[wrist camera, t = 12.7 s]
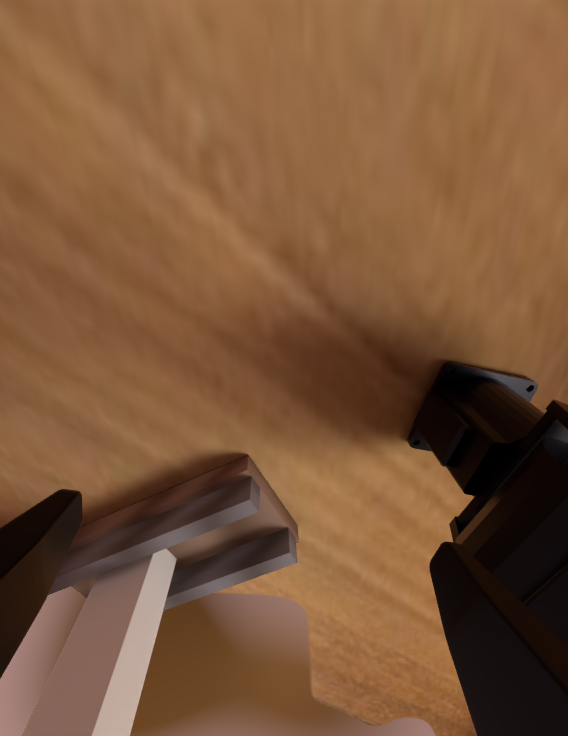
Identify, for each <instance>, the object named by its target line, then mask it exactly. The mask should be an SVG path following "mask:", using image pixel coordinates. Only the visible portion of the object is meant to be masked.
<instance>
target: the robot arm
mask: <svg viewBox="0 0 568 736" xmlns="http://www.w3.org/2000/svg"><path fill="white" fill-rule="evenodd" d="M451 368H453V370H452V371H451V372H448V371H449V369H451ZM529 385H530V386H529ZM528 386H529V387H528ZM527 387H528V388H527ZM526 388H527V389H526ZM537 389H538V384H537V383H536V382H535V381H533V380H531V379H528V378H524V377H519V376H515V375H510V374H506V373H501V372H496V371H492V370H487V369H483V368H478V367H474V366H469V365H465V364H460V363H456V362H447V363H445V364H444V365H443V366H442V368H441V370H440V372H439V374H438V376H437V378H436V380H435V382H434V384H433V386H432V388H431V391H430V392H429V393H428V394H427V396H426V399H425V401H424V403H423V405H422V407H421V409H420V411H419V413H418V415H417V417H416V419H415V421H414V426H413V428H412V430H411V432H410V434H409V436H408V439H407V441H408V443H409V445H410V446H411V447H412V448H416V449H421V450H427V451H432V452H433V453H434V455H435V456H436V458H437V459H438V461H439V462H440V464H441V465H442V466H444V467H446V468H447V469H448V470H449V472H450V473H451V475H452V476H453V478H454V479H455V481H456V482H457V484H458V485H459V487H460V488H461V489H462V491H463V492H464V493H465V494H468V495H473V496H474V498H473V499H472V501H471V502H470V503H469V504H468V505H467V507H466V508H465V509H464V510H463V511H462V512H461V514H460V515H459V516H458V517H455V518H454V519H453V520H452V521H451V522H450V529H451V533H452V538H453V542H454V543H453V542H443V543H442V544H441V545H440V547H439V548H438V550H437V551H436V553H435V554H434V556H433V558H432V559H431V561H430V574H431V578H432V582H433V586H434V591H435V595H436V599H437V603H438V608H439V612H440V616H441V620H442V625H443V629H444V633H445V636H446V640H447V643H448V647H449V650H450V653H451V656H452V659H453V662H454V665H455V668H456V671H457V675H458V678H459V681H460V684H461V687H462V690H463V693H464V696H465V699H466V702H467V705H468V709H469V712H470V715H471V718H472V721H473V724H474V727H475V730H476V733H477V736H568V405H567V404H564V403H562V402H559V401H556V400H553V401H552V402H551V403H550V404H549V405H548V406H547V408H546V410H547V412H546V413H545V414H544V413H543V412H542V411H540V410H539V409H538V408H536V407H535V406H534V405H532V404H531V403H530V400H531V399H532V397H533V395H534V394H535V392H536V391H537ZM416 439H418V440H417V441H415V442H413V441H414V440H416ZM81 520H82V495H81V492H80V491H76V490H68V489H61V490H58V491H57V492H55V493H54V494H52V495H51V496H49V497H47V498H46V499H44V500H43V501H41V502H40V503H38V504H37V505H35V506H34V507H32V508H31V509H29V510H27V511H26V512H24V513H23V514H21V515H20V516H18V517H17V518H15V519H14V520H12V521H11V522H9V523H7V524H6V525H4V526H3V527H1V528H0V678H1V677H2V675H3V673H4V671H5V670H6V668H7V666H8V665H9V663H10V661H11V659H12V658H13V656H14V654H15V652H16V651H17V649H18V647H19V646H20V644H21V642H22V640H23V638H24V637H25V635H26V633H27V632H28V630H29V628H30V627H31V625H32V623H33V621H34V620H35V618H36V616H37V614H38V613H39V611H40V609H41V607H42V606H43V603H44V602H45V600H46V598H47V596H48V594H49V592H50V590H51V588H52V586H53V583H54V581H55V579H56V577H57V575H58V572H59V570H60V568H61V566H62V564H63V562H64V559H65V557H66V555H67V553H68V551H69V549H70V546H71V544H72V542H73V540H74V538H75V535H76V533H77V531H78V529H79V527H80V524H81Z"/></svg>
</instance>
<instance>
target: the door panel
mask: <svg viewBox="0 0 568 736" xmlns="http://www.w3.org/2000/svg"><path fill="white" fill-rule="evenodd" d="M176 560H177V559H176V558H175V557H174V556H173V555H172V554H171V553H170V552H169V551H168V550H167V549H164V550H161V551H158V552H156V553H153V554H151V555H148V556H146V557H143V558H141V559H138V560H136V561H133V562H131V563H128V564H125V565H123V566H120V567H118V568H115V569H113V570H110V571H108V572H105V573H103V574H100V575H98V576H97V578H96V580H95V582H94V584H93V586H92V588H91V590H90V592H89V595H88V597H87V599H86V601H85V603H84V605H83V607H82V610H81V612H80V614H79V616H78V618H77V620H76V622H75V624H74V626H73V628H72V631H71V633H70V635H69V637H68V639H67V641H66V643H65V645H64V648H63V650H62V652H61V654H60V656H59V658H58V660H57V662H56V665H55V667H54V669H53V671H52V673H51V675H50V678H49V679H48V682H47V684H46V686H45V688H44V690H43V692H42V694H41V696H40V698H39V701H38V703H37V705H36V707H35V709H34V711H33V713H32V715H31V718H30V720H29V722H28V724H27V726H26V728H25V730H24V732H23V735H22V736H130V733H131V729H132V725H133V721H134V718H135V713H136V710H137V706H138V703H139V699H140V695H141V691H142V688H143V684H144V680H145V676H146V673H147V668H148V665H149V661H150V658H151V654H152V650H153V646H154V643H155V639H156V635H157V631H158V627H159V624H160V620H161V616H162V613H163V609H164V605H165V601H166V598H167V594H168V590H169V586H170V583H171V579H172V575H173V571H174V568H175V564H176Z"/></svg>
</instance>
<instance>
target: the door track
mask: <svg viewBox="0 0 568 736" xmlns="http://www.w3.org/2000/svg"><path fill="white" fill-rule="evenodd" d="M297 542H299V539H298V527H297V524H296V523H295V521H294V520H293V518H292V517H291V515H290V514H289V512H288V511H287V510H286V508H285V507H284V505H283V504H282V502H281V501H280V500H279V498H278V497H277V495H276V494H275V492H274V491H273V489H272V488H271V487H270V485H269V484H268V482H267V481H266V479H265V478H264V477H263V475H262V474H261V472H260V471H259V469H258V468H257V466H256V465H255V464H254V462H253V461H252V459H251V458H250V456H249V455H247V456H245V457H243V458H240V459H238V460H236V461H233V462H231V463H229V464H226V465H224V466H222V467H219V468H217V469H215V470H212V471H210V472H208V473H205V474H203V475H201V476H198V477H196V478H194V479H191V480H189V481H187V482H184V483H182V484H180V485H177V486H175V487H173V488H170V489H168V490H166V491H163V492H161V493H158V494H156V495H154V496H151V497H149V498H147V499H144V500H142V501H140V502H137V503H135V504H133V505H130V506H128V507H126V508H123V509H121V510H119V511H116V512H114V513H112V514H109V515H107V516H105V517H102V518H100V519H98V520H95V521H93V522H91V523H88V524H86V525H84V526H81V527H79V529H78V531H77V533H76V535H75V538H74V540H73V542H72V544H71V546H70V549H69V551H68V553H67V555H66V557H65V559H64V562H63V564H62V566H61V568H60V570H59V572H58V575H57V577H56V579H55V581H54V583H53V586H52V588H51V590H50V592H49V594H52V593H54V592H57V591H59V590H62V589H65V588H67V587H69V586H72V587H73V588H75V589H76V590H77V591H78V592H80V593H81V594H82V595H84V596H85V597H86V598H87V597H88V595H89V592H90V590H91V588H92V586H93V584H94V582H95V580H96V578H97V576H98V575H100V574H103V573H105V572H108V571H110V570H113V569H115V568H118V567H120V566H123V565H125V564H128V563H131V562H133V561H136V560H138V559H141V558H143V557H146V556H148V555H151V554H153V553H156V552H158V551H161V550H164V549H167V550H168V551H169V552H170V553H171V554H172V555H173V556H174V557H175V558H176V559H177V560H176V564H175V568H174V571H173V575H172V579H171V583H170V586H169V590H168V594H167V598H166V601H165V605H164V609H163V611H164V610H167V609H169V608H172V607H175V606H178V605H180V604H183V603H186V602H189V601H192V600H195V599H197V598H200V597H203V596H206V595H209V594H211V593H214V592H217V591H220V590H222V589H225V588H228V587H231V586H234V585H236V584H239V583H242V582H245V581H248V580H250V579H253V578H256V577H259V576H261V575H264V574H267V573H270V572H273V571H275V570H278V569H281V568H284V567H287V566H289V565H292V564H295V563H297V552H296V543H297ZM49 594H48V595H49Z"/></svg>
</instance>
